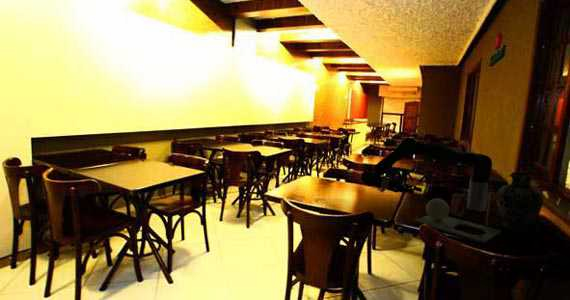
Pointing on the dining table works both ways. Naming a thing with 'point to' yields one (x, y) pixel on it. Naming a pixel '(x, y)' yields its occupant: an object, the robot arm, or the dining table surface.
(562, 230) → the dining table surface
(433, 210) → the ball
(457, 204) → the soda can
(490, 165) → the robot arm
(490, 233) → the putting board
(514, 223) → the decorative vase
